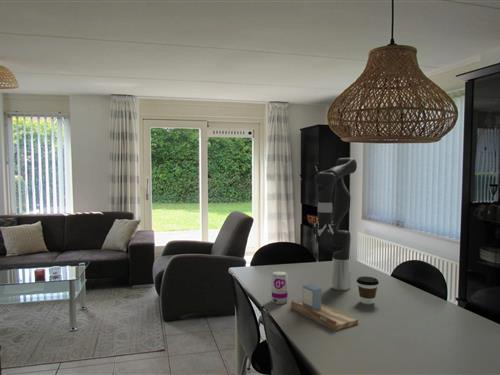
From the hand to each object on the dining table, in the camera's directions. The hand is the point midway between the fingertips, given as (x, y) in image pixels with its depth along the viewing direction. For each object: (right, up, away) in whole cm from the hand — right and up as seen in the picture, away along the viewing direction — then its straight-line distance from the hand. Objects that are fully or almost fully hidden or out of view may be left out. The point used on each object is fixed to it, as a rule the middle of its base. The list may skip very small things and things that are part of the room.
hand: (324, 241), depth 206 cm
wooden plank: (-5, -32, -23) cm, 39 cm away
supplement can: (-24, -31, -4) cm, 39 cm away
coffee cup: (+21, -31, -4) cm, 37 cm away
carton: (-9, -29, -17) cm, 35 cm away
